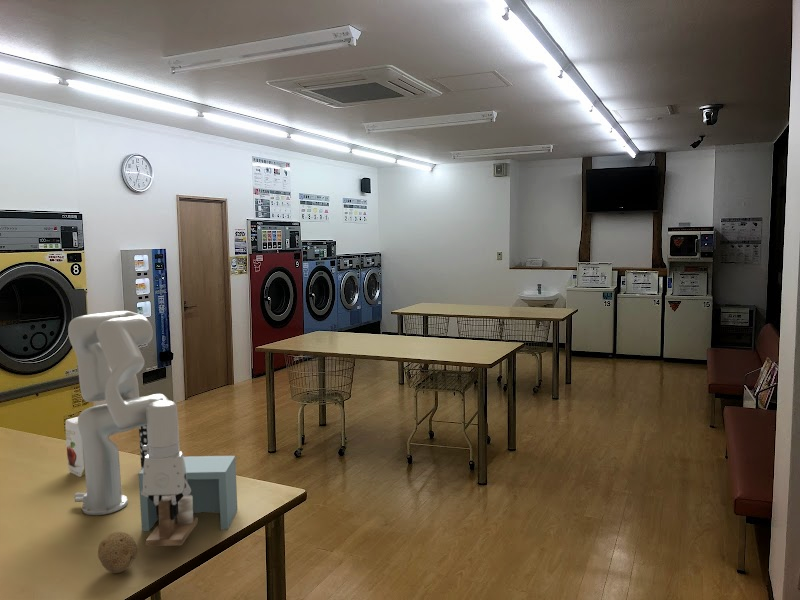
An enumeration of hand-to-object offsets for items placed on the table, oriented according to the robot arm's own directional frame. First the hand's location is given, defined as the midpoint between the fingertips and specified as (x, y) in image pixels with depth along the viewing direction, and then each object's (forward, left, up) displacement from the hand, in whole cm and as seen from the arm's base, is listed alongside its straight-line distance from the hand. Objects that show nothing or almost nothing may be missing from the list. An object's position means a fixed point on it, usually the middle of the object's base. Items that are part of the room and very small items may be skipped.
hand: (167, 516), depth 162 cm
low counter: (0, +19, -10) cm, 22 cm away
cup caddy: (0, +3, -6) cm, 7 cm away
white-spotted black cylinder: (-24, +57, -11) cm, 63 cm away
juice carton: (-48, +56, -11) cm, 75 cm away
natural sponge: (-10, -7, -11) cm, 16 cm away
